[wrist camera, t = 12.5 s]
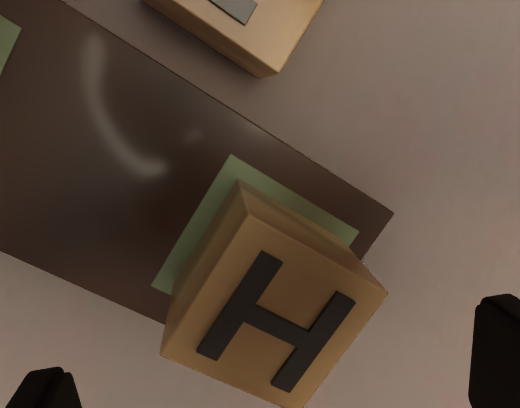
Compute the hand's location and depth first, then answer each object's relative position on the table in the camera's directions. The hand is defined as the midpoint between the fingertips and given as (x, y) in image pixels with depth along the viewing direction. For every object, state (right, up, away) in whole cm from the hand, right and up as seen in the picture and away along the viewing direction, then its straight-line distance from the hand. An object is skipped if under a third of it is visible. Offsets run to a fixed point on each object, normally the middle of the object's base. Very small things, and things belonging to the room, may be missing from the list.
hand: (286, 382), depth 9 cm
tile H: (-1, +2, +7) cm, 7 cm away
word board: (-7, +6, +6) cm, 11 cm away
